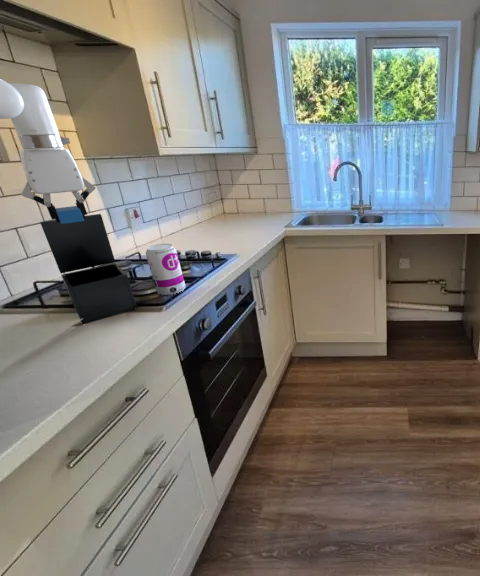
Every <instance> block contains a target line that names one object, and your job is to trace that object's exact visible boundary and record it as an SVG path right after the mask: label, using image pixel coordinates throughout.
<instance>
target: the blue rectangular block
mask: <svg viewBox="0 0 480 576" xmlns="http://www.w3.org/2000/svg"><path fill="white" fill-rule="evenodd" d="M55 209H56V212H57V215H58V217H59V220H60V222H61V224H66V223H73V222H80V221H84V219H83V216H82V214H81V211H80V209H79V208H78V207H77V206H76V205H72V206H63V207H55Z"/></svg>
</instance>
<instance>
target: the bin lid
mask: <svg viewBox="0 0 480 576" xmlns="http://www.w3.org/2000/svg"><path fill="white" fill-rule="evenodd" d="M85 218H86V219H84V221H80V222H73V223H66V224H61V222H58V223H57V222H56V220H55V219H51V220H44V221H39V224H40V226H41V228H42V231H43V233H44V236H45V238H46V241H47V243H48V246H49V249H50V251H51V254H52V256H53V258H54V260H55V264H56V267H57V268H58V271H59V273H60V274H66V273H71V272H76V271H80V270H85V269H90V268H95V267H99V266H104V265H109V264H114V263H116V259H115V255H114V253H113V250H112V246H111V242H110V240H109V239H110V238H109V236H108V233H107V230H106V226H105V222H104V219H103V216H102V213H96V214H87V215H85Z"/></svg>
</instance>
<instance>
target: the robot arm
mask: <svg viewBox="0 0 480 576" xmlns="http://www.w3.org/2000/svg"><path fill="white" fill-rule="evenodd" d="M9 119H10V120H11V123H12V125H13V128H14V130H15V132H16V136H17V137H18V140H19V143H20V145H21V148H22V150H19V157H20V161H21V166H22V168H23V171H24V174H25V177H26V183H25V185H24V187H23V188H22V191H21V193H20V194H21V196H22V197H24V198H26V199H28V200H29V199H30V200H31V201H35V202H37V203H39V204H41V205H43V206H44V207H46V209H47V211H48V214H49V216H50V218H51V220H56V222H57V223H58V222H60V220H59V217H58V215H57V212H56V209H55V208H56V207H55V205H54V204H53V202H52V199H51V194H61V193H71V194H72V196H74V198H75V206H77V207H78V208H79V209H80V211H81V214H82V216H83V219H86V218H85V216H87V215H88V212H87V209H86V206H85V204H84V203H85V201H86V199H87V198H88V197H89V195H90V194H91V193H93V192H94V191H95V190H96V186H95V185H94V184H92V183H91V182H89V181H88V180H86V178H84V177H83V176H82V174H81V172H80V170H79V166H78V165H77V163H76V160H75V159H74V157H73V155H72V153H71V151H70V150H69V148H65V145H67V144H71V141H70V138H69V137H63V136H61V134H60V131H59V128H58V125H57V123H56V120H55V117H54V115H53V111H52V109H51V106H50V102H49V100H48V97H47V94H46V92H45V90H44V89H43V88H41V87H40V86H38V85H36V84H28V83H8V82H7V81H5V79H1V78H0V120H9ZM85 187H86V188H85ZM82 190H83V191H82ZM80 191H82V192H81V193H80ZM32 192H33V193H32ZM34 193H35V194H34ZM36 194H39V195H42V197H40V196H39V195H36Z"/></svg>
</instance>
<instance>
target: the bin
mask: <svg viewBox="0 0 480 576" xmlns="http://www.w3.org/2000/svg"><path fill="white" fill-rule="evenodd" d="M61 278H62V281H63V283H64V286H65V288H66V290H67V293H68V295H69V298H70V301H71V303H72V305H73V307H74V309H75V311H76V313H77V316H78V318H79V319H80V320H79V321H80V323H81V325H82V326H83V325H87V324H91V323H94V322H97V321H101V320H105V319H107V318H111V317H114V316H119V315H121V314H125V313H129V312H132V311H136V309H135V308H138V309H139V307H138V305H137V301H136V298H135V295H134V292H133V289H132V286H131V282H130V280H129V278H128V274H127V273H126V271H124V270H123V269H122V268H121V267H120V266H119V265H118V264H117V263H116V262H113V263H109V264H104V265H99V266H94V267H90V268H85V269H80V270H75V271H71V272H66V273H61Z"/></svg>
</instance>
